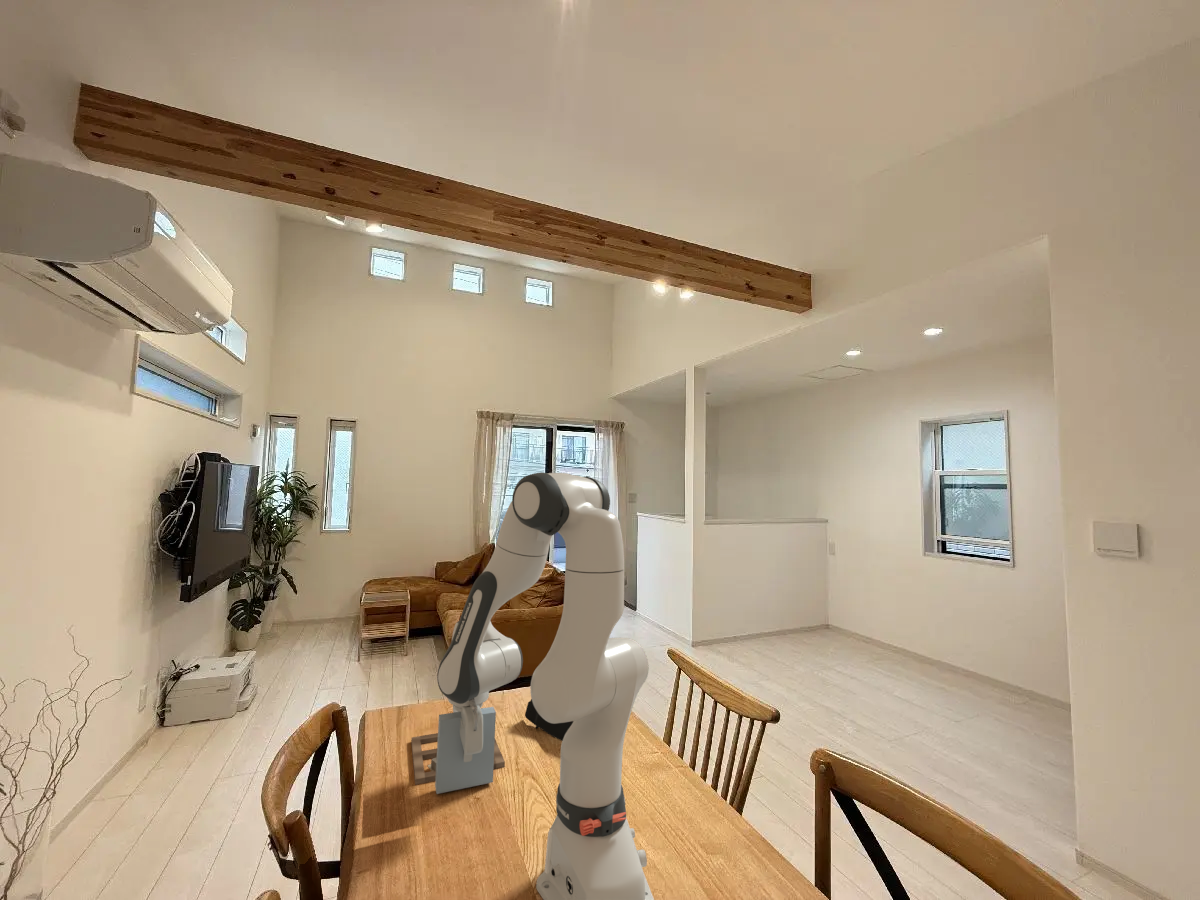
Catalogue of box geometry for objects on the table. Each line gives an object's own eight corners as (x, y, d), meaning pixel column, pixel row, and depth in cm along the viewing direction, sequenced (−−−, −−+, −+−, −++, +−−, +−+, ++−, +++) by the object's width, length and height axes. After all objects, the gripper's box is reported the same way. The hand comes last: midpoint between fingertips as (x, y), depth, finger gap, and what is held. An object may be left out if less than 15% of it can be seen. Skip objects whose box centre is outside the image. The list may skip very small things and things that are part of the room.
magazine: (628, 722, 124) (544, 662, 141) (622, 727, 121) (537, 665, 138) (611, 783, 125) (530, 716, 142) (604, 789, 123) (522, 720, 140)
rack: (504, 772, 116) (504, 761, 116) (414, 791, 108) (415, 779, 108) (488, 734, 134) (489, 724, 134) (411, 747, 126) (411, 737, 126)
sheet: (492, 782, 108) (495, 712, 110) (436, 794, 104) (440, 720, 105) (490, 774, 111) (493, 706, 113) (435, 786, 106) (438, 714, 108)
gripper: (492, 707, 101) (489, 777, 100) (475, 673, 120) (473, 731, 119) (460, 712, 99) (457, 784, 97) (449, 676, 117) (446, 736, 116)
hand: (465, 755), depth 108 cm, fingers closed on sheet, 3 cm apart
